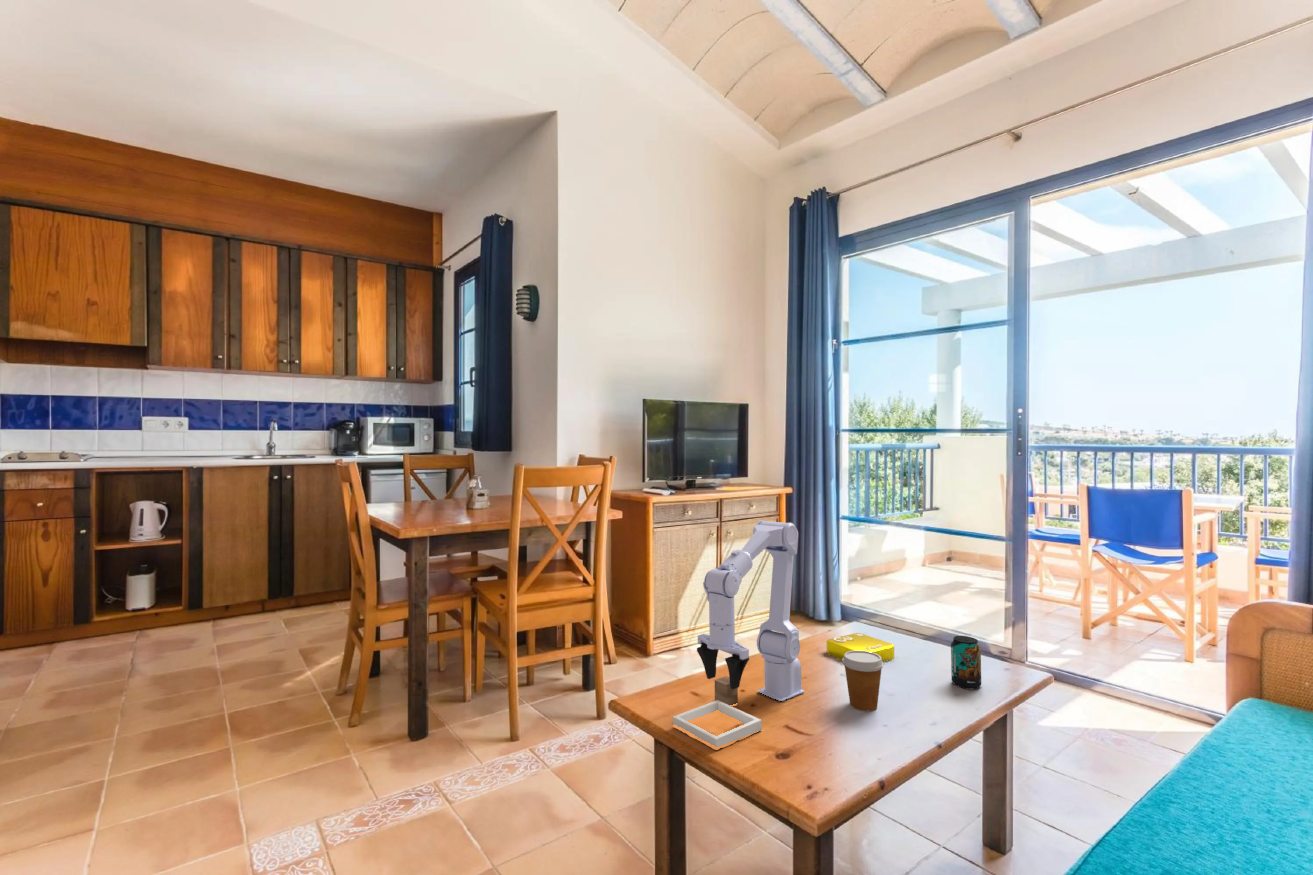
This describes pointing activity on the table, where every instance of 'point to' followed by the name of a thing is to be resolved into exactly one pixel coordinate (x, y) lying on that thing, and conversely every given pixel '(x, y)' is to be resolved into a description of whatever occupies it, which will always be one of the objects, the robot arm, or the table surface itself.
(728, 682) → the brown rectangular block
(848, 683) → the disposable coffee cup
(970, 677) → the beverage can
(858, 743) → the table surface
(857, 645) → the yellow printed box
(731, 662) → the robot arm
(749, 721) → the white tray
